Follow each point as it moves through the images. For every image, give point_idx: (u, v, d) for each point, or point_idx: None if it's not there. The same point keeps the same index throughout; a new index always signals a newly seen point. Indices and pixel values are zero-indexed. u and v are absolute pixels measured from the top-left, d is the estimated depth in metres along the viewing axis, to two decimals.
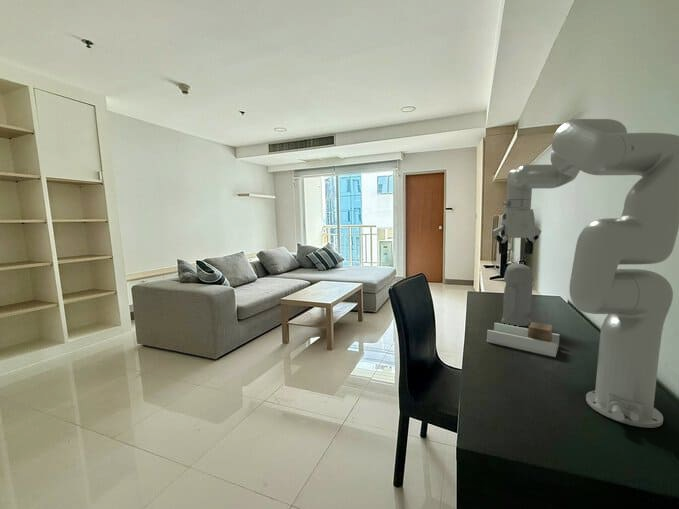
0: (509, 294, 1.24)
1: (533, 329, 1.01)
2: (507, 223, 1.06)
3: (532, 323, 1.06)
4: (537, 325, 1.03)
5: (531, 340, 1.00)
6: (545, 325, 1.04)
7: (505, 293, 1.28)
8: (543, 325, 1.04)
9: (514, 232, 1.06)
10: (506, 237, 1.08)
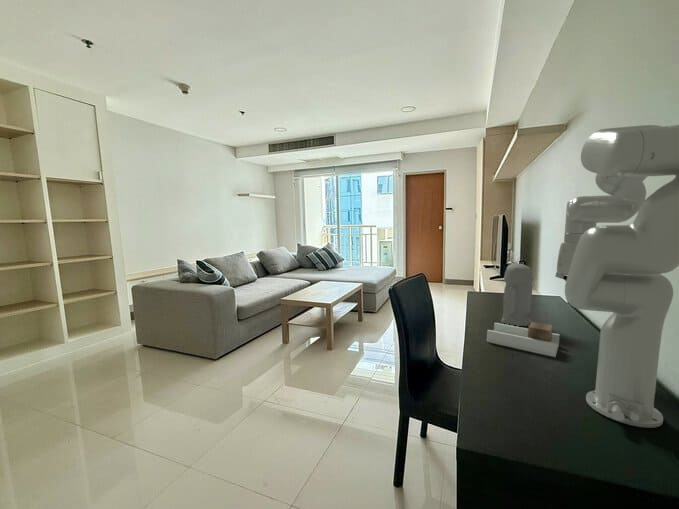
0: (509, 294, 1.24)
1: (533, 329, 1.01)
2: None
3: (532, 323, 1.06)
4: (537, 325, 1.03)
5: (531, 340, 1.00)
6: (545, 325, 1.04)
7: (505, 293, 1.28)
8: (543, 325, 1.04)
9: None
10: None
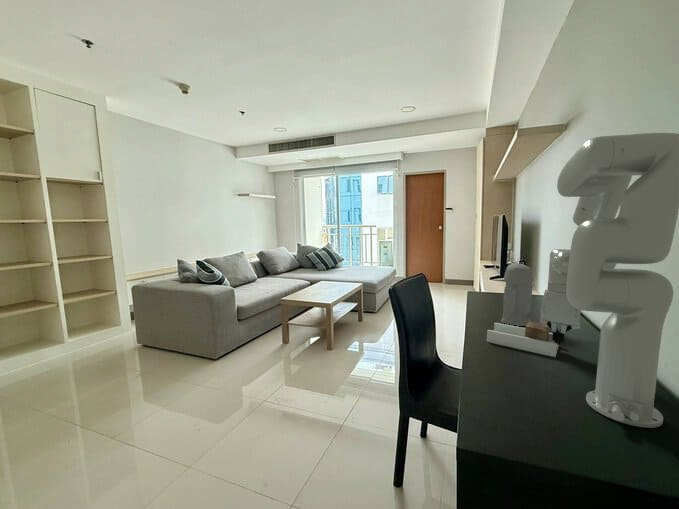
0: (509, 294, 1.24)
1: (530, 328, 1.02)
2: None
3: (529, 323, 1.06)
4: (535, 325, 1.04)
5: (531, 340, 1.00)
6: (542, 324, 1.04)
7: (505, 293, 1.28)
8: (540, 324, 1.04)
9: None
10: None
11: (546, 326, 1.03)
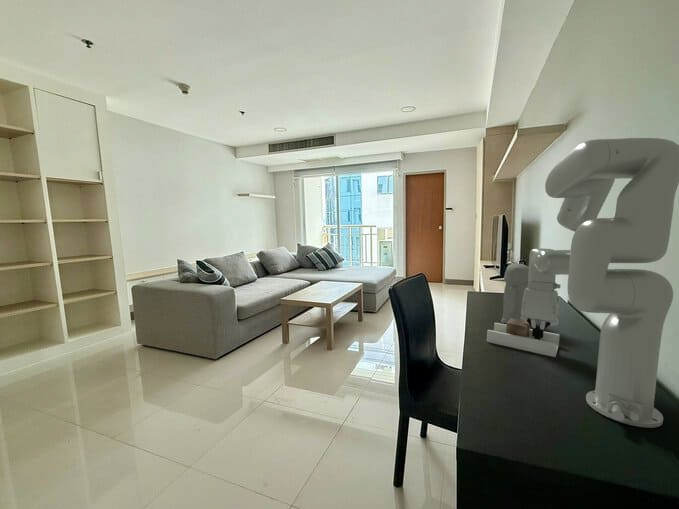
0: (509, 294, 1.24)
1: (511, 325, 1.05)
2: None
3: (510, 319, 1.10)
4: (516, 322, 1.07)
5: (531, 340, 1.00)
6: (523, 321, 1.08)
7: (505, 293, 1.28)
8: (521, 321, 1.08)
9: None
10: None
11: (526, 323, 1.06)
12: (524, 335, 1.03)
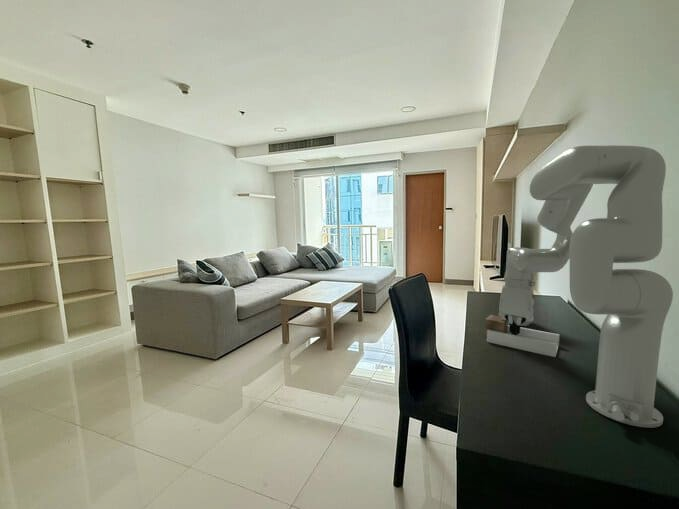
0: None
1: (489, 321, 1.10)
2: None
3: (490, 316, 1.14)
4: (494, 318, 1.12)
5: (531, 340, 1.00)
6: (501, 317, 1.12)
7: None
8: (500, 317, 1.12)
9: None
10: None
11: (504, 319, 1.11)
12: (501, 331, 1.07)
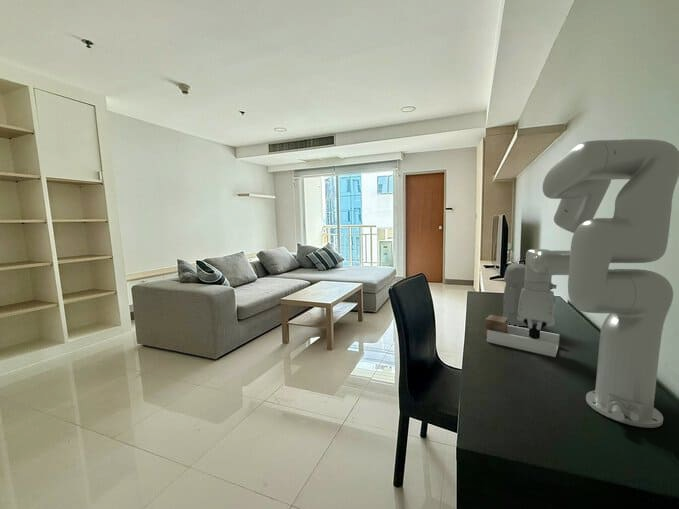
0: (509, 294, 1.24)
1: (489, 321, 1.10)
2: None
3: (489, 316, 1.14)
4: (494, 318, 1.12)
5: (531, 340, 1.00)
6: (501, 317, 1.12)
7: (505, 293, 1.28)
8: (499, 317, 1.12)
9: None
10: None
11: (504, 319, 1.11)
12: (501, 330, 1.07)
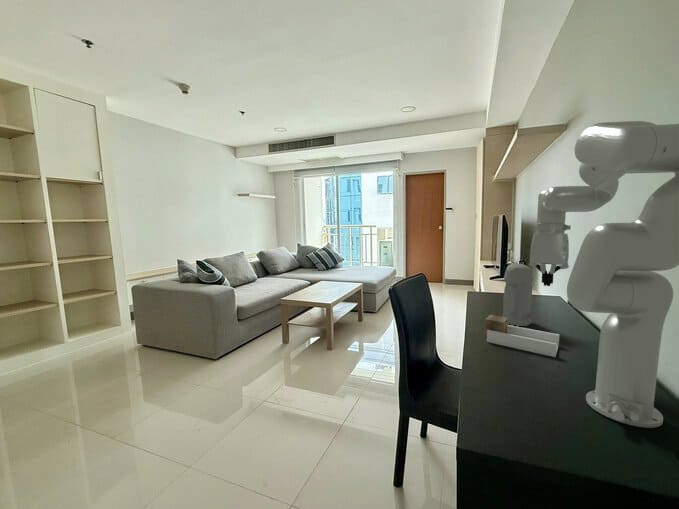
0: (509, 294, 1.24)
1: (489, 321, 1.10)
2: None
3: (489, 316, 1.14)
4: (494, 318, 1.12)
5: (531, 340, 1.00)
6: (501, 317, 1.12)
7: (505, 293, 1.28)
8: (499, 317, 1.12)
9: None
10: None
11: (504, 319, 1.11)
12: (501, 330, 1.07)
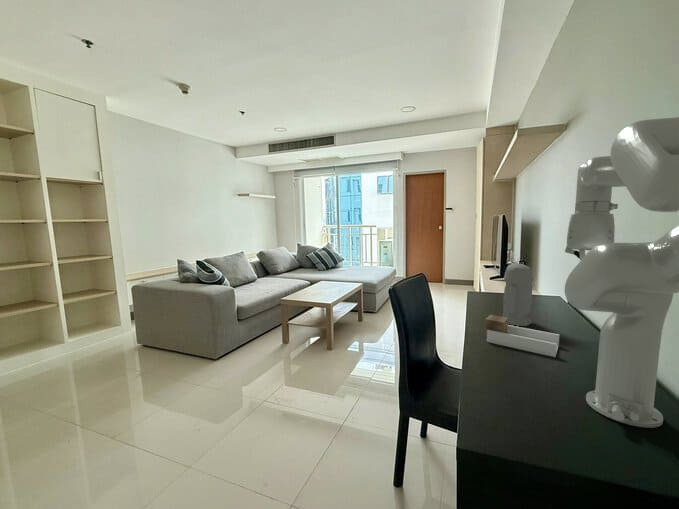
0: (509, 294, 1.24)
1: (489, 321, 1.10)
2: None
3: (489, 316, 1.14)
4: (494, 318, 1.12)
5: (531, 340, 1.00)
6: (501, 317, 1.12)
7: (505, 293, 1.28)
8: (499, 317, 1.12)
9: None
10: None
11: (504, 319, 1.11)
12: (501, 330, 1.07)
